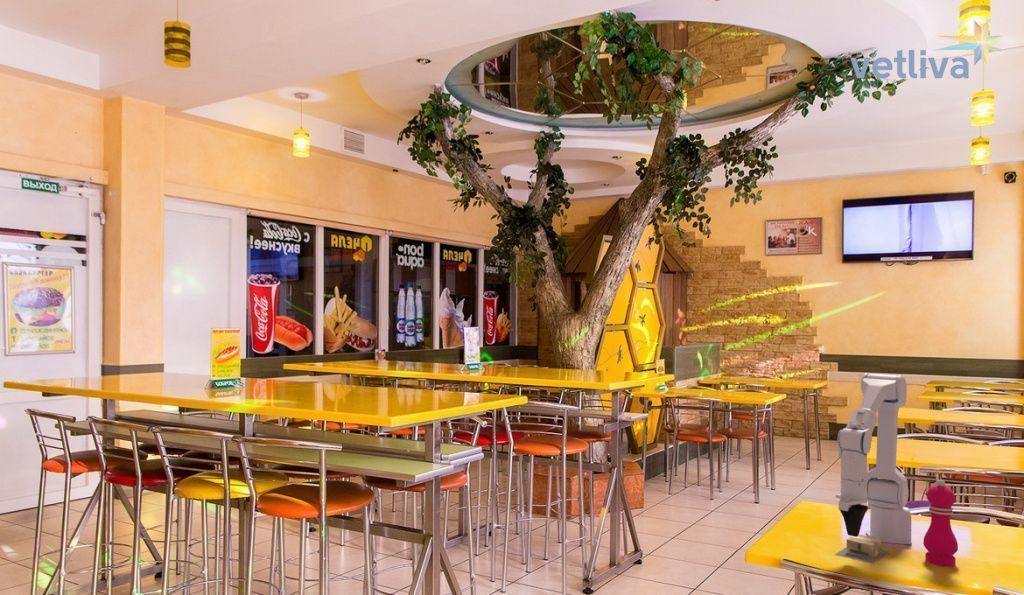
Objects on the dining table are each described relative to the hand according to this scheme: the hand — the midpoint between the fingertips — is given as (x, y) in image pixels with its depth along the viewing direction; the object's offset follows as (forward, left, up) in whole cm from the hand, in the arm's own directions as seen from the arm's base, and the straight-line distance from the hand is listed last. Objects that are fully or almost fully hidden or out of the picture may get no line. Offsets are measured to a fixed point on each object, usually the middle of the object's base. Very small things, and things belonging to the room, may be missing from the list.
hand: (853, 535), depth 176 cm
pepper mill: (-21, -5, -6) cm, 22 cm away
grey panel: (-4, -6, -6) cm, 9 cm away
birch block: (-2, -4, -4) cm, 6 cm away
